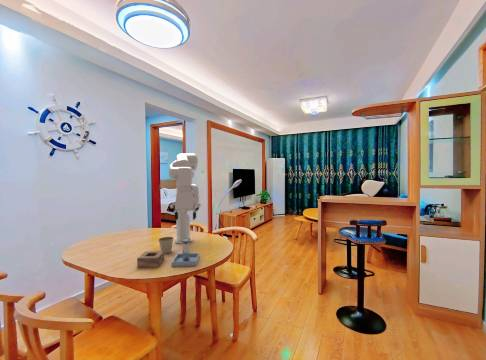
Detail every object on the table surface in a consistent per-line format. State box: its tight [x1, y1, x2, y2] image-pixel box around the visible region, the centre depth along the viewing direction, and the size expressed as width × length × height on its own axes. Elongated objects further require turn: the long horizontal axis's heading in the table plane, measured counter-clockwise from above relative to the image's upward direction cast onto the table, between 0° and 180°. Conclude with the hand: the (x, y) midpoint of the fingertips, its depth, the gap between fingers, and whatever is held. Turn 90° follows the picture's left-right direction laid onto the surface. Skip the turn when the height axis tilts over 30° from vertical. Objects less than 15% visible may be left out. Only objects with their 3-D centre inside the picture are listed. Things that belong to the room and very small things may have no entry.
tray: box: [171, 252, 200, 268], centre depth 129 cm, size 13×13×2 cm
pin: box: [181, 238, 191, 261], centre depth 129 cm, size 5×5×12 cm
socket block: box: [136, 250, 165, 269], centre depth 127 cm, size 11×11×5 cm
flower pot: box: [157, 236, 175, 255], centre depth 145 cm, size 9×9×9 cm
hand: (185, 219), depth 129 cm, fingers open, 9 cm apart
